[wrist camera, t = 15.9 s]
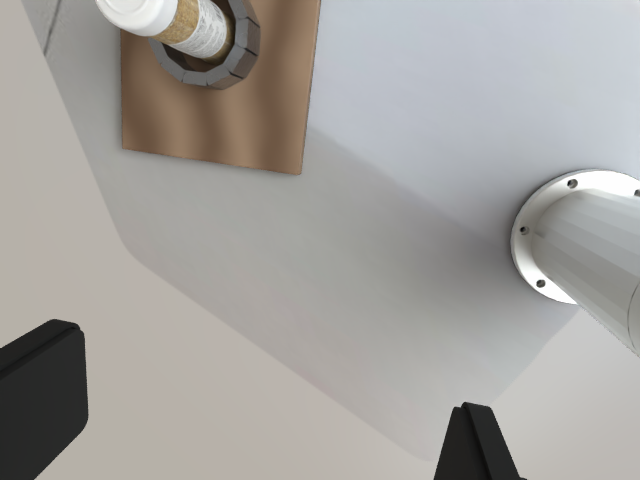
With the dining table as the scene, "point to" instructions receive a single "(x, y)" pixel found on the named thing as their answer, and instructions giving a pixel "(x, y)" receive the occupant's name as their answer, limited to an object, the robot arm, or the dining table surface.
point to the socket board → (227, 97)
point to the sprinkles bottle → (177, 24)
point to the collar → (235, 63)
